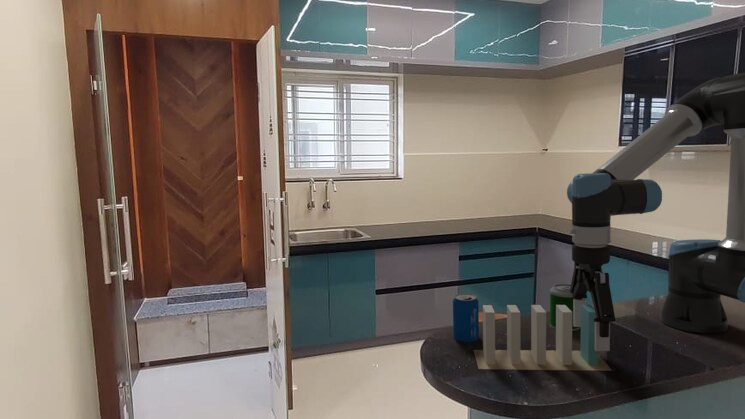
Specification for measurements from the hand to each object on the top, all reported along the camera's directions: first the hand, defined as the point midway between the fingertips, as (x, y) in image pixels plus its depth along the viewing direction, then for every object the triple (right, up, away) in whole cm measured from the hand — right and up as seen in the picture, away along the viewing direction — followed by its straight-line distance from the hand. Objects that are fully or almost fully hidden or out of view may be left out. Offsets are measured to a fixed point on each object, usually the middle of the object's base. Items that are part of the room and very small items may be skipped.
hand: (590, 337), depth 101 cm
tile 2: (-5, -5, +1) cm, 8 cm away
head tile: (0, -5, +1) cm, 5 cm away
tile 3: (-11, -6, +2) cm, 12 cm away
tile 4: (-16, -6, +2) cm, 17 cm away
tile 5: (-22, -6, +3) cm, 23 cm away
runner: (-11, -7, +2) cm, 13 cm away
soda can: (+3, -4, +21) cm, 22 cm away
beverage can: (-24, -6, +16) cm, 30 cm away
